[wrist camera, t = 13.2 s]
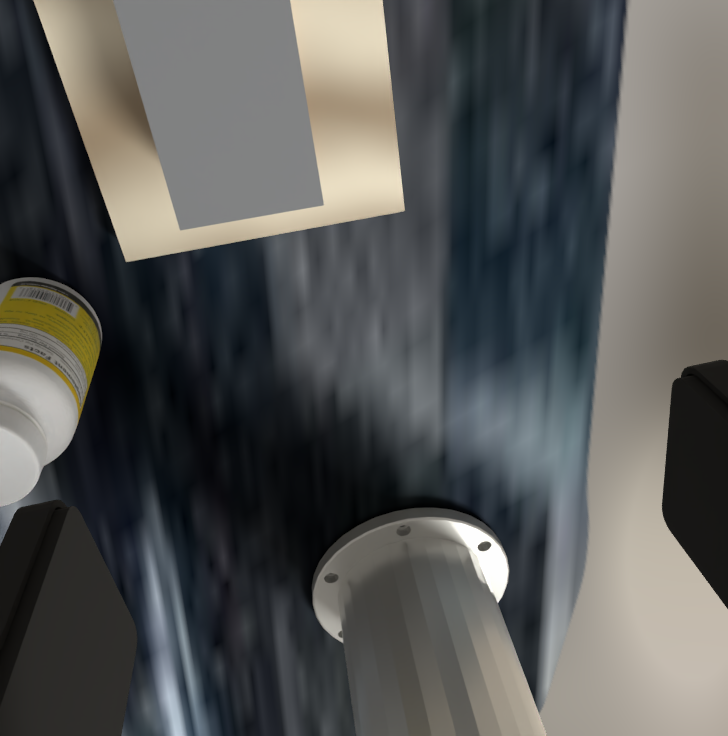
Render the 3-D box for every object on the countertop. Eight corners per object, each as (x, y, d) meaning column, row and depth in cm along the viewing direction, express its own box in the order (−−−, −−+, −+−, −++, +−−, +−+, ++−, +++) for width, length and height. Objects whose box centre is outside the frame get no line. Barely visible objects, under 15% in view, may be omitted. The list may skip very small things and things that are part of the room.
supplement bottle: (18, 390, 34) (-55, 540, 25) (-47, 294, 30) (-153, 430, 22) (125, 357, 33) (86, 498, 25) (70, 258, 30) (6, 381, 22)
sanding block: (312, 163, 28) (323, 205, 24) (189, 184, 28) (180, 230, 24) (272, -68, 24) (279, -66, 20) (127, -45, 24) (101, -38, 19)
